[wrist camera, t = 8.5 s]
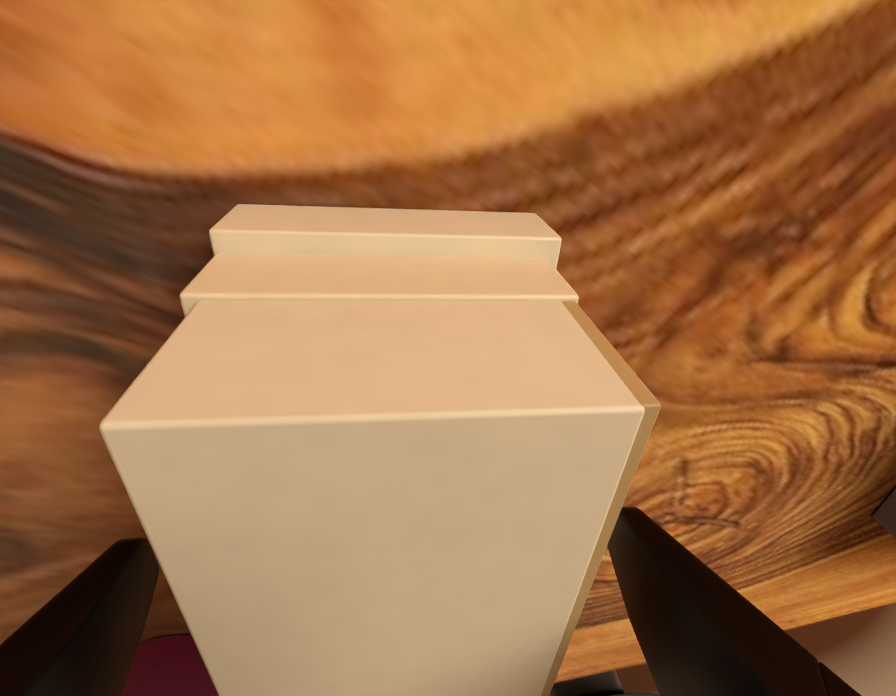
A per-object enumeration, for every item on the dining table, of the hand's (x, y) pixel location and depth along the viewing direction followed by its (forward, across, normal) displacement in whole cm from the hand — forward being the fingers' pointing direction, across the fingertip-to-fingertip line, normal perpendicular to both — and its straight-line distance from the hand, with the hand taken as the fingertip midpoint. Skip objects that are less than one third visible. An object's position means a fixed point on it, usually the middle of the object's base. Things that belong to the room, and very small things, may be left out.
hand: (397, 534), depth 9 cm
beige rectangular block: (+1, 0, 0) cm, 1 cm away
